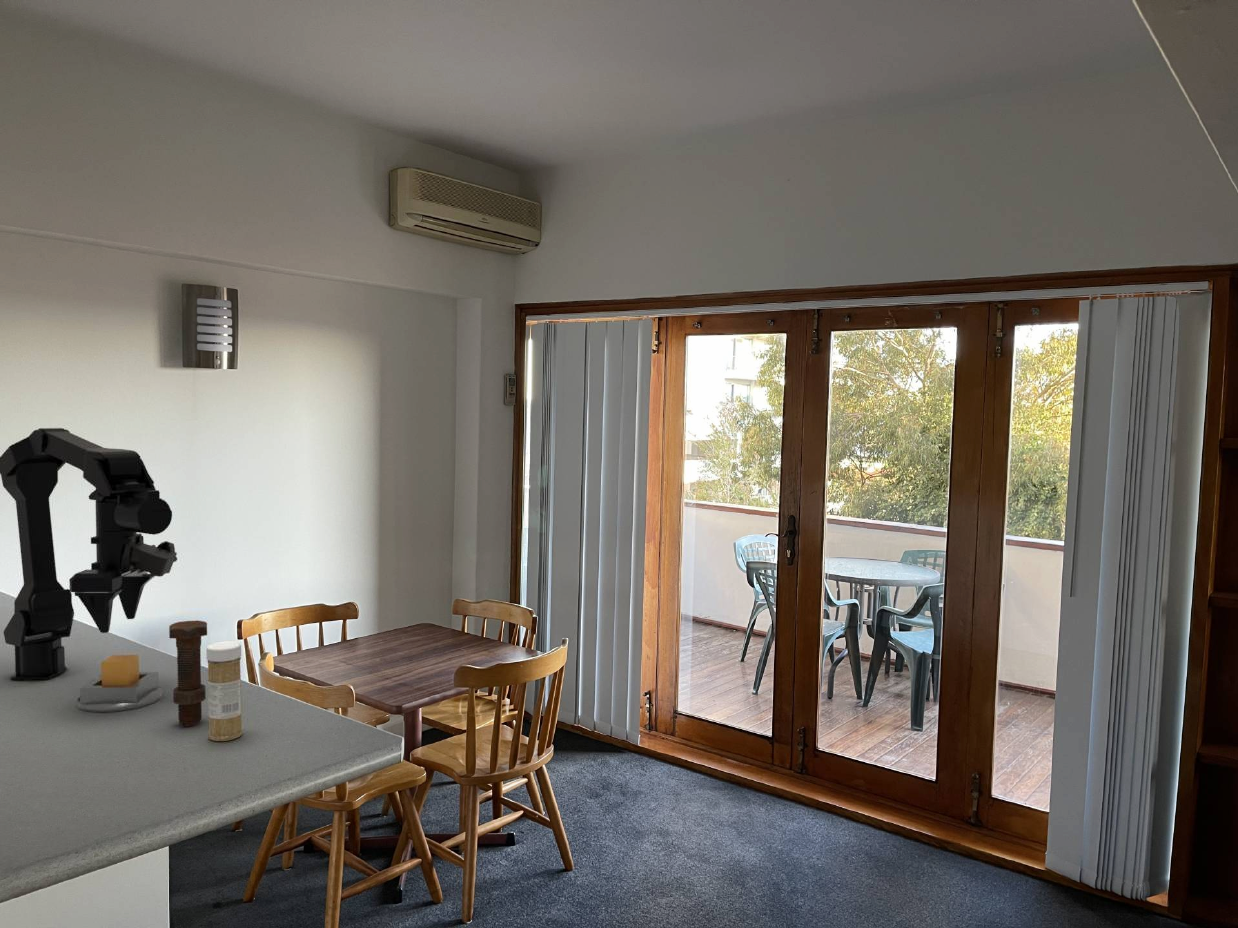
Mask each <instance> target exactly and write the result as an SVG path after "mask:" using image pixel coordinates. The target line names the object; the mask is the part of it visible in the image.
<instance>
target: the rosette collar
mask: <svg viewBox="0 0 1238 928" xmlns="http://www.w3.org/2000/svg"><path fill="white" fill-rule="evenodd" d="M162 697H163V689H162V688H161V687H160V686H159V672H158V671H147V672H145V671H144V672H143V671H142V672H141V671H139V680H138V681H137V682H136V683H134V684H133V685H111V686H102V674H101V675H99V676H97V677H95V678H94V679H93V680H91V681H89V682H87V683H86V684H84V685H83V686H80V688H79V697H78V698H77V701H76V702H77V703H76V704H77V708H78V709H79V710H80V711H82V712H83V711H84V712H89V713H115V712H116V713H117V712H123V711H124V712H125V711H131V710H135V709H138V708H143V707H146V706H149V705H153V704H154V703H157V702H158V701H160V700H161V699H162Z"/></svg>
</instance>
